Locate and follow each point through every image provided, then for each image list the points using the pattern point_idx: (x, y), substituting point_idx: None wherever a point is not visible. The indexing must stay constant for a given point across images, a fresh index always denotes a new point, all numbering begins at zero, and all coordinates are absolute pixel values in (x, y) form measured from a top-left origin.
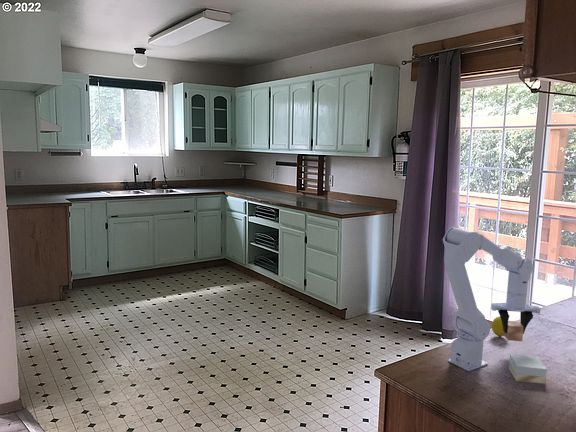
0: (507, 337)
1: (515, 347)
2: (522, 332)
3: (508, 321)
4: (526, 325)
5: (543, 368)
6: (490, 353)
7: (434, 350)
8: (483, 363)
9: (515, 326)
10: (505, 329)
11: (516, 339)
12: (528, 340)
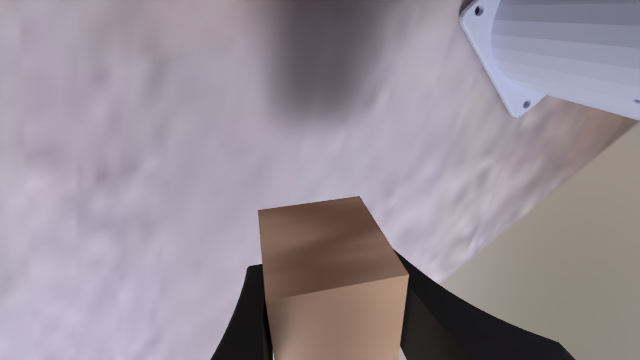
0: (365, 211)
1: None
2: (267, 256)
3: (374, 358)
4: (232, 329)
5: None
6: (394, 168)
7: (628, 125)
8: (490, 3)
9: (344, 283)
10: (401, 258)
11: (302, 210)
12: (184, 354)
